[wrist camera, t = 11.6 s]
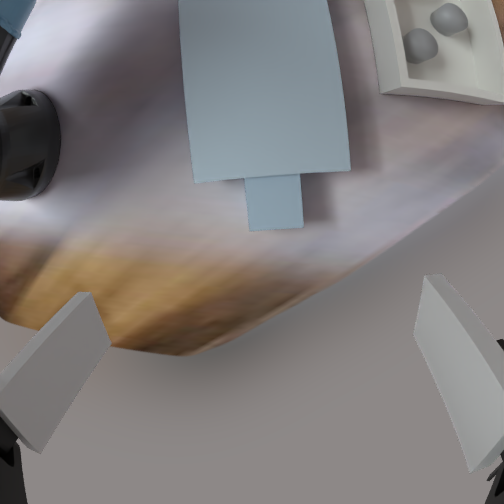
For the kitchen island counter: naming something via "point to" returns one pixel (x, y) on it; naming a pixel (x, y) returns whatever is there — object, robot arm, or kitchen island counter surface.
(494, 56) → the tub
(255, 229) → the lid
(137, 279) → the kitchen island counter surface
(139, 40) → the kitchen island counter surface
